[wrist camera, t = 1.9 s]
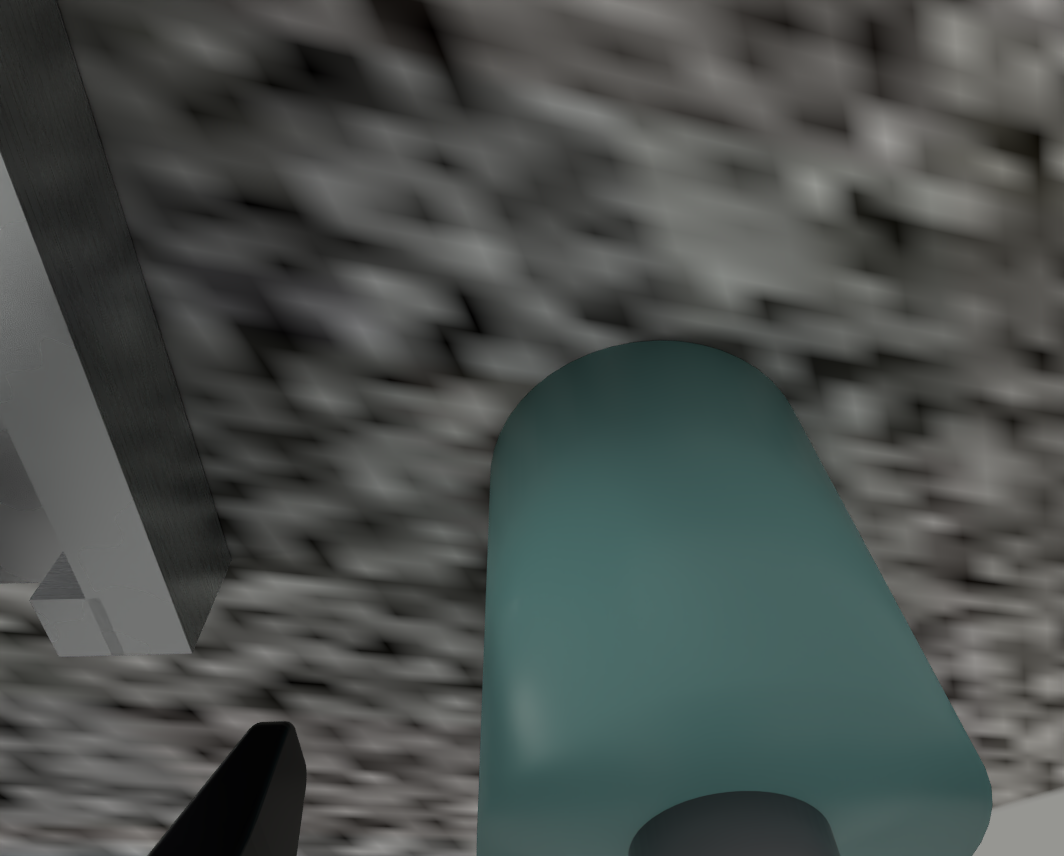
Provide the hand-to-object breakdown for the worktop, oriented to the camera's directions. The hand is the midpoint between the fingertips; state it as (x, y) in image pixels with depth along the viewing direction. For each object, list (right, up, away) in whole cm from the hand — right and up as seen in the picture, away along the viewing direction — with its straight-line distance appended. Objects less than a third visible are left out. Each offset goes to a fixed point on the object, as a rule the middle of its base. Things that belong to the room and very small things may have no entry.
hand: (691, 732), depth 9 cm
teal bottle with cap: (0, +3, +4) cm, 5 cm away
